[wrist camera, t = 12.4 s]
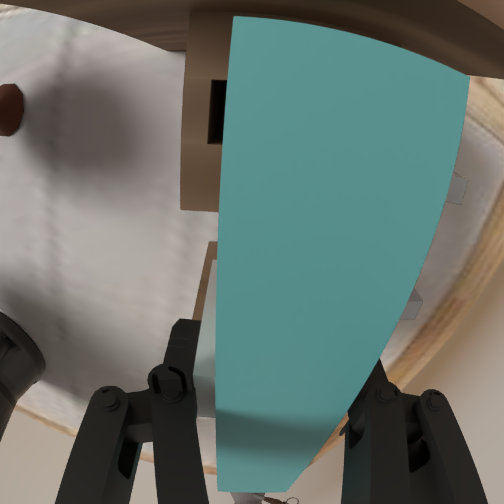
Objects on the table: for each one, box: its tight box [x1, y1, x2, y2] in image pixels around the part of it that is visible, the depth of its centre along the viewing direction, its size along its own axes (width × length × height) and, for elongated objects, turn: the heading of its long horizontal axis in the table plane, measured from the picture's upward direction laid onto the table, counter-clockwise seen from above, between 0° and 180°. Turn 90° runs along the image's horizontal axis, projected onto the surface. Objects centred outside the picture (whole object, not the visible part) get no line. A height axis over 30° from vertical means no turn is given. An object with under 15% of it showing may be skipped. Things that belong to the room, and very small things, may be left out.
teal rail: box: [215, 16, 470, 493], centre depth 12 cm, size 20×4×9 cm, turn 175°
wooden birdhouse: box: [0, 0, 504, 212], centre depth 13 cm, size 9×16×18 cm, turn 85°
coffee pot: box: [230, 492, 299, 504], centre depth 43 cm, size 21×12×15 cm, turn 154°
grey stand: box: [399, 172, 468, 320], centre depth 23 cm, size 13×5×6 cm, turn 175°
